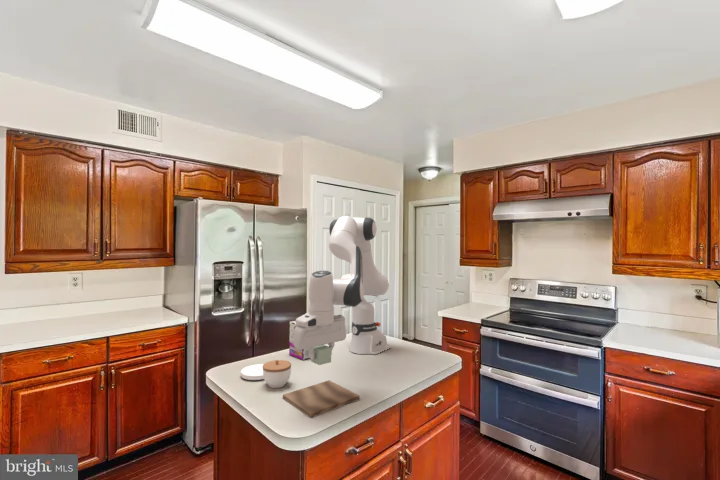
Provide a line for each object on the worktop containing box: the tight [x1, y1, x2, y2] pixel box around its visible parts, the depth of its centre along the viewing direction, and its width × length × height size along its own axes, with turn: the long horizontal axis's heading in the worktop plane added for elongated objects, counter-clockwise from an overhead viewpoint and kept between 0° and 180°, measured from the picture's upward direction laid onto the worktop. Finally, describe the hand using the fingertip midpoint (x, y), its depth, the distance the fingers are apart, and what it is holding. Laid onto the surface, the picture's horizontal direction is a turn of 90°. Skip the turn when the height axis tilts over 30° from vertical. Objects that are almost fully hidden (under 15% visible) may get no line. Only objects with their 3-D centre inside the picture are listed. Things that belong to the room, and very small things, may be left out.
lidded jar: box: [263, 359, 292, 389], centre depth 134 cm, size 11×11×9 cm
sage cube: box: [310, 344, 332, 366], centre depth 122 cm, size 5×5×5 cm
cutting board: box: [282, 380, 360, 418], centre depth 122 cm, size 20×18×1 cm
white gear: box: [240, 363, 265, 381], centre depth 144 cm, size 14×14×2 cm
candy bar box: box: [288, 320, 310, 361], centre depth 167 cm, size 11×5×16 cm, turn 47°
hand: (321, 357), depth 122 cm, fingers closed on sage cube, 5 cm apart
